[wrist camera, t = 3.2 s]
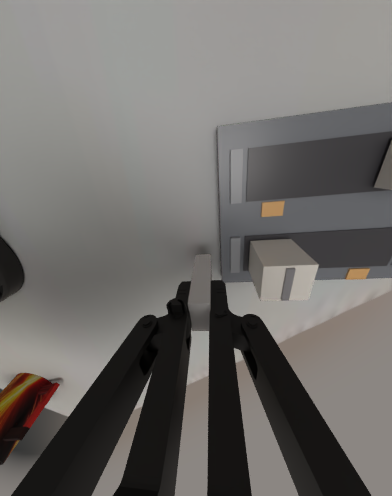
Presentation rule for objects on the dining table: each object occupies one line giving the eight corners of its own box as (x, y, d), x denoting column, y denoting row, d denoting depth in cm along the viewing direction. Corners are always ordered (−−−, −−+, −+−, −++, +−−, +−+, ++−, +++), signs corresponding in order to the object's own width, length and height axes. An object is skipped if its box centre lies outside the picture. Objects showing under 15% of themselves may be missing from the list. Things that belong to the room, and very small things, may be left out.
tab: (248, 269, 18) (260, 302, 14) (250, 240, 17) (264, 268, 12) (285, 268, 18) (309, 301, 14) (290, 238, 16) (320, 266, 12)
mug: (64, 378, 39) (10, 457, 29) (49, 395, 45) (-1, 467, 34) (23, 361, 37) (-52, 441, 26) (13, 382, 43) (-52, 454, 32)
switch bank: (221, 275, 22) (222, 285, 20) (216, 129, 14) (217, 124, 13) (390, 269, 19) (408, 280, 18) (484, 93, 12) (531, 81, 10)
